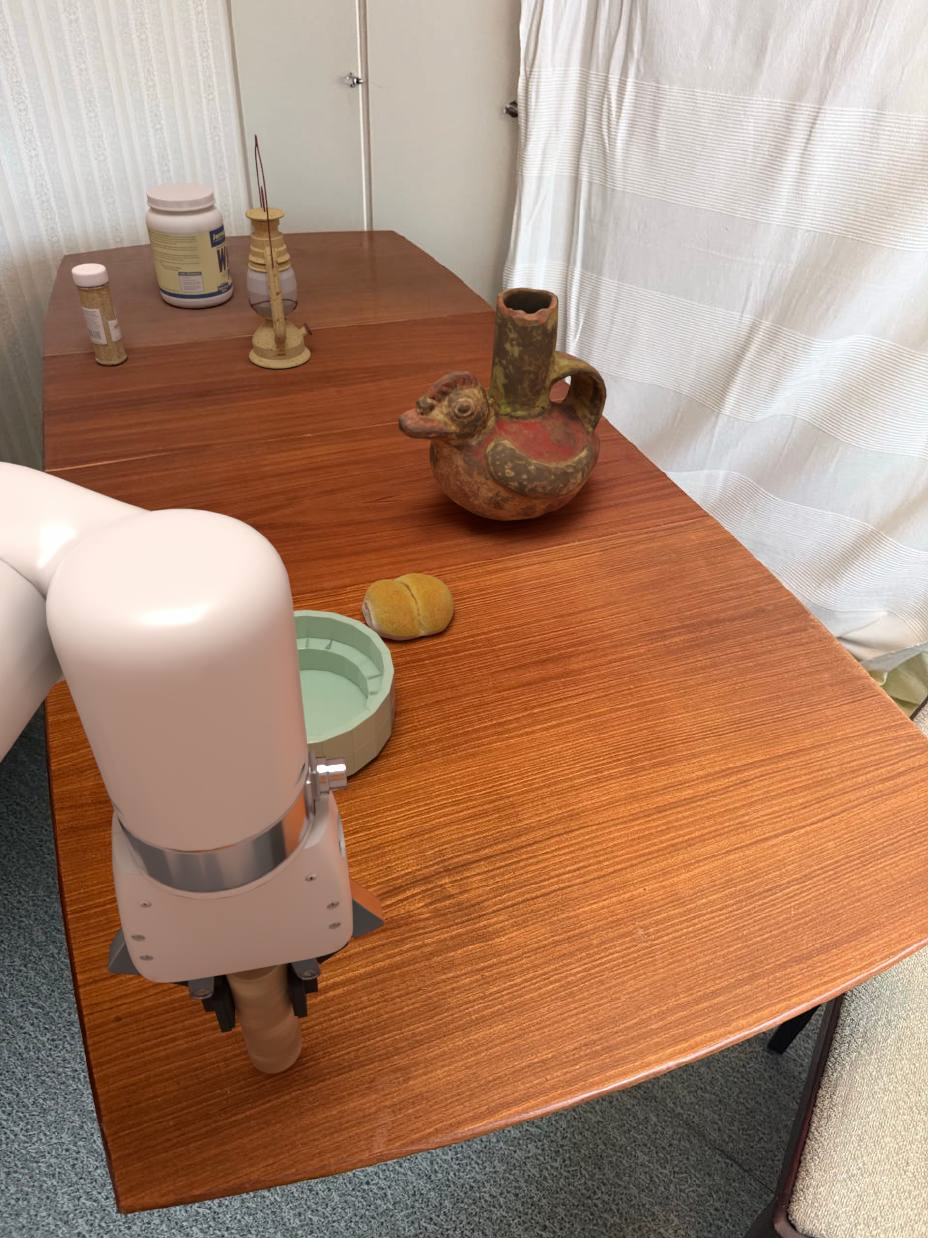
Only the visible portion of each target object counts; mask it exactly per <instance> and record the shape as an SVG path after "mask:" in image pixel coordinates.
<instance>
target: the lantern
mask: <svg viewBox="0 0 928 1238" xmlns="http://www.w3.org/2000/svg"><path fill="white" fill-rule="evenodd" d="M259 147H260V146H259V142H258V135H257V133H256V134H254V161H255V171H256V178H257V187H258V188H257V189H258V195H259V196H258V197H259V204H260V207H254V208H251V209H248V210H246V211H245V212H244V215H245V217H246V218H247V219H248V220H250V223H251V226H252V227H253V229H254V231H253V232H251V233H250V235H249V236H250V243H251V244H250V247H249V249H250V250H249V251H250V253H249V255H248V260H249V261H248V264H247V266H248V269H247V272H246V290H247V295H248V303H249V307H250V308H251V309H252V310H253V311H254V312H255V315H257V316H258V317H260V318H263V319H264V321H262V323H260V325H259V326H258V327H257V328H256V330H255V332H254V334H253V335H252V338H251V343H252V349H251V350H250V351H249V353H248V354H249V355H248V357H249V358H248V359H249V360H250V362H252V363H253V364H254V365H257V366H259V367H261V368H262V367H263V368H267V369H288V368H294V367H296V366H297V367H298V366H300V365H303V364H304V363H306V362H307V361H308V360H310V358H311V355H312V354H311V351H310V349H309V348H308V347H307V346H306V345H305V337H306V336H308V335H309V336H312V335H313V331H312V330H311V327H310V326H309V324H308V323H307V322H304V323H303V326H301V327H300V328H298V327H297V326H296V325H295V324H294V323H292V321H290V320H288V317H290V316H292V315H293V314H294V312H295V310H296V309H297V307H298V303H299V301H298V284H297V281H296V279H297V278H296V275H295V270H294V269H293V268H292V266H291V264H292V263H291V261H290V258H291V255H290V254H289V252H288V251H287V245H286V243H285V238H284V237H285V236H284V233H283V232H282V231H279V226H280V220H281V219H282V218H284V216H285V212H284V210H282V209H279V208H276V207H269V205H268V197H267V189H266V179H265V174H264V168H263V167H264V166H263V164H262V163H263V162H262V158H261V154H260V148H259ZM257 155H258V158H257ZM258 159H259V164H260V170H261V175H262V183H263V186H262V185H261V186H260V177H259V170H258V169H259V168H258Z"/></svg>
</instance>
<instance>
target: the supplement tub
mask: <svg viewBox="0 0 928 1238" xmlns="http://www.w3.org/2000/svg"><path fill="white" fill-rule="evenodd" d="M214 195H215V194H214V190H213V189H212V188H211V187H210V186H207V185H204V184H199V183H192V182H191V183H189V182H175V183H173V182H172V183H164V184H160V185H156V186H152V187H151V188H149V189H147V191H146V204H147V206H148V207H149V208H148V210H147V211H146V212H145V226H146V230H147V234H148V239H149V245H150V249H151V254H152V259H153V260H152V261H153V264H154V268H155V274H156V278H157V279H156V280H157V284H158V288H159V293H160V296H161V297H162V299H163V300H164V301H165V302H167V304H170V305H172V306H175V307H179V308H185V309H205V308H211V307H215V306H218V305H221V304H223V303H225V302H227V301H228V300H229V299H230V298H231V297H232V295H233V290H234V289H233V288H234V286H233V279H232V274H231V266H230V259H229V252H228V245H227V237H226V231H225V224H224V218H223V213H222V212H221V210H220V209H219V208H218V207H217V206H216V205H215V204H216V198H215V196H214Z"/></svg>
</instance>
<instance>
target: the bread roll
mask: <svg viewBox="0 0 928 1238" xmlns="http://www.w3.org/2000/svg"><path fill="white" fill-rule="evenodd" d="M365 590H366V591H365V593H364V597H363V602H362V605H361V610H362V614H363V617H364V620H365V624H367V627H369V628H370V629H372V630H373V631H375V632H376V633H377V634H378V635H379V637H380V638H384V639H389V640H394V641H405V640H406V641H407V640H413V639H416V638H419V637H423V636H424V637H425V636H432V635H435V634H438V633H441V632H442V631H444V630H445V629H446V628H447V627H448V625H449V624H450V622H451V620H452V618H453V616H454V615H453V614H454V610H455V600H454V597H453V595H452V592H451V590H450V589H449V587H448V586H447V584H445V583H444V581H442V580H441V579H439V578H437V577H436V576H432V575H430V574H424V573H415V572H410V573H407V574H403V575H401V576H399V577H397V578H394V579H387V578H386V579H379V580H376V581H374V582H373V583H372V584H371V585H369V587H368V588H367V589H365Z"/></svg>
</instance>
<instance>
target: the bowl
mask: <svg viewBox="0 0 928 1238" xmlns="http://www.w3.org/2000/svg"><path fill="white" fill-rule="evenodd" d="M294 619H295V629H296V639H297V648H298V658H299V668H300V678H301V687H302V697H303V706H304V716H305V726H306V735H307V745H308V753H309V752H313V751H315V754H316V757H323V756H326V759H332V758H340V757H344V760H345V768H346V777H349V776H352V775H354V774H355V773H357V772H358V771H359V770H361V769H362V768H364V767H365V766H366V765H367V764H368V763H370V762H371V761H372V760H374V759H375V758H376V757H377V756H378V755H379V753H380V752H381V751H382V749H383V747H384V746H385V745H386V743H387V741H388V740H389V738H390V737H391V735H392V732H393V728H394V722H395V719H396V687H395V685H396V683H395V682H396V681H395V667H394V663H393V659H392V654H391V650H390V648H389V647H388V646H387V644H386V643H385V642H384V641H383V639H382V637H381V636H379V635H378V634H377V633H376V632H375V631H373V630H372V629H370V628H369V626H368V625H366V624H364V623H363V622H361V621H360V620H357V619H354V618H352V617H349V616H345V615H343V614H340V613H337V612H333V611H323V610H314V609H313V610H312V609H298V610H294Z"/></svg>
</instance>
